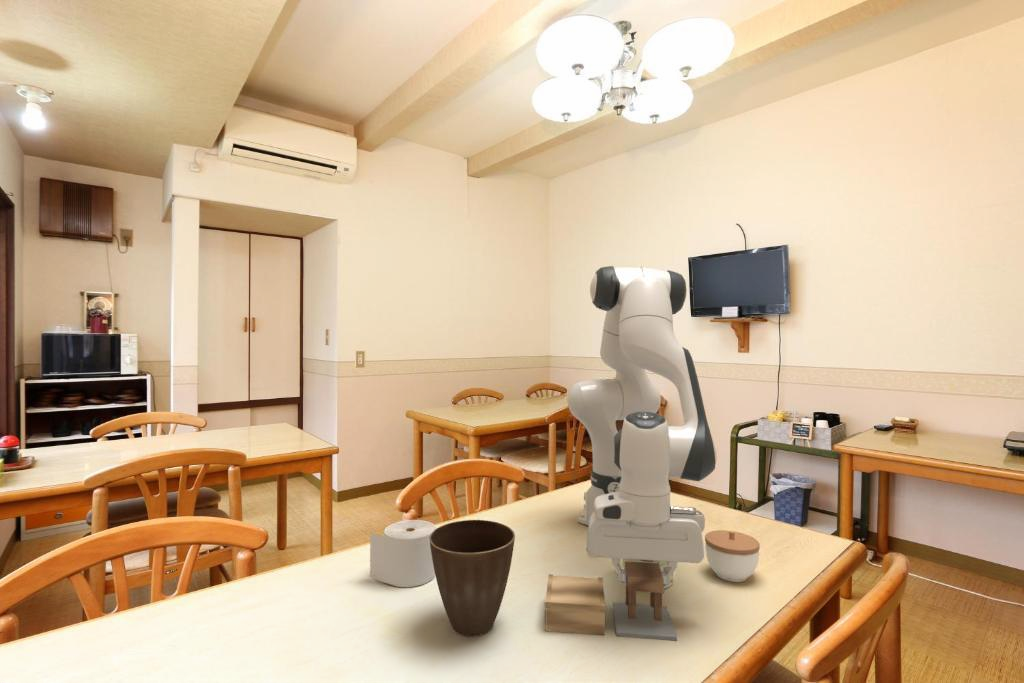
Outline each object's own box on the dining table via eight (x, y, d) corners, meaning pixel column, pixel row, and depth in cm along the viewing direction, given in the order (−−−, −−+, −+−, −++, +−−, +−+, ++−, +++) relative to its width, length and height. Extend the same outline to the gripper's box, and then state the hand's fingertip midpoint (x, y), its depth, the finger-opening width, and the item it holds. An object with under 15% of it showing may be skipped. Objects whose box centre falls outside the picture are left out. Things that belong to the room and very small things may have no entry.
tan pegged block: (627, 619, 91) (628, 576, 91) (624, 601, 97) (624, 561, 97) (663, 621, 90) (663, 578, 90) (657, 603, 96) (658, 563, 96)
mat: (612, 605, 99) (612, 602, 99) (666, 609, 98) (666, 606, 98) (616, 636, 89) (616, 632, 89) (677, 640, 88) (677, 637, 88)
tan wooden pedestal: (548, 600, 101) (548, 574, 101) (602, 604, 100) (602, 577, 100) (545, 631, 91) (545, 601, 90) (605, 635, 89) (605, 606, 89)
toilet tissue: (445, 575, 111) (446, 528, 111) (398, 596, 102) (398, 545, 102) (415, 560, 118) (415, 516, 118) (368, 578, 110) (368, 530, 109)
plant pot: (482, 662, 82) (482, 560, 82) (410, 632, 90) (411, 539, 90) (529, 618, 95) (530, 530, 94) (463, 595, 103) (464, 514, 102)
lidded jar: (765, 590, 106) (765, 543, 105) (708, 584, 108) (709, 539, 108) (752, 566, 116) (752, 524, 116) (701, 562, 118) (701, 520, 118)
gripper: (700, 502, 95) (699, 577, 95) (586, 497, 98) (586, 570, 98) (709, 514, 89) (708, 595, 89) (587, 508, 91) (586, 587, 92)
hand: (643, 582), depth 94 cm, fingers closed on tan pegged block, 6 cm apart
